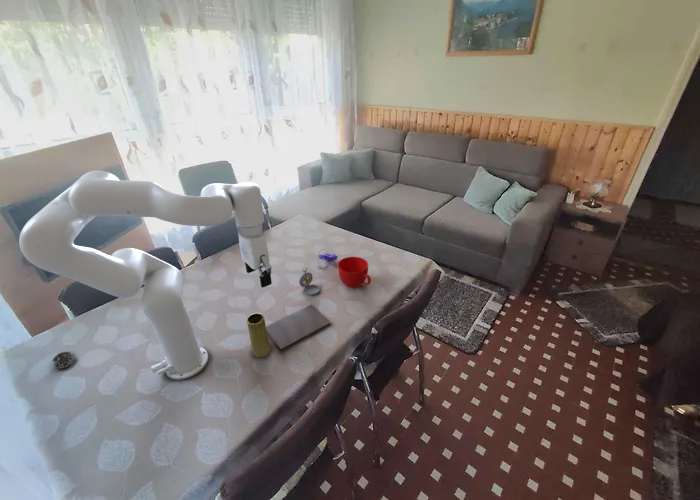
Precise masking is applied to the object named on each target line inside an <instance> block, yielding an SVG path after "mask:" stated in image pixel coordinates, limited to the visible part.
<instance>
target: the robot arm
mask: <svg viewBox="0 0 700 500" xmlns="http://www.w3.org/2000/svg"><path fill="white" fill-rule="evenodd" d="M261 193H262V192H261V188H260V185H258V184H256V183H254V182H248V181H247V182H245V181H244V182H240V183H209V184H207V185H205V186H204V187H202V189H201V191H200V195H185V194H179V193H174V192H171V191H169V190H167V189H165V188H164V187H162V186H161V185H160V184H159V183H156V182H154V181H150V180H126V179H119V178H118V177H117V176H116V175H115V174H113V173H111V172H108V171H105V170H99V169H98V170H90V171H88V172H86V173H84V174H83V175H81V176H80V177H79V178H78V179H77V180H76V181H74V182H73V184H72V185H70V186H69V187H68V188H67V189H65V190H64V191H63V192H61V193H60V194H58V196H56V197H55V198H53V199H52V200H51V201H50V202H49V203H48V204H46V205H45V206H43V208H41V210H39V211H38V212H37V213H35V214H34V215H33V216H32V217H31V218H29V220H28V221H26V223H25V225H24V226H23V227H22V229H21V231H20V234H19V237H18V240H19V241H18V244H19V248H20V252H21V253H22V255H23V256H24V258H25V259H26V260H27V261H28V262H29V263H31V264H32V265H34V266H35V267H36V268H39V269H40V270H42V271H45V272H49V273H51V274H54V275H58V276H61V277H64V278H68V279H69V280H73V281H75V282H78V283H80V284H82V285H85V286H86V287H87V286H88V287H90V288H92V289H95V290H97V291H100V292H103V293H105V294H108V295H110V296H113V297H116V298H120V299H129V298H132V297H134V296H136V295H137V294H138V293H139V292H140V290H141V288H142V287H143V286H145V287H144V290H143V294H142V297H141V307H142V312H143V314H144V315H145V316H146V318H147V319H148V321H149V322H150V324H151V326H152V328H153V331H154V333H155V335H156V337H157V340H158V342H159V345H160V347H161V349H162V352H163V354H164V356H163V357H164V360H161V362H158V363H156V364H153V365H152V366H150V368H151V371H152V373H156V372H157V374H158V376H161V375H162V374H164V373H165V374H166V376H167V377H168V378H170V379H172V380H178V381H179V380H185V379H188V378H192V377H193V376H195V375H197V374H198V373H200V372H201V371H202V370H203V369H204V368H205V367H206V365H207V364H208V361H209V354H208V352H207V349H205V348H204V347H202V346H200V344H199V341H198V339H197V334H196V332H195V329H194V327H193V326H194V325H193V323H192V320H191V317H190V314H189V312H188V309H187V308H186V306H185V304H184V300H183V293H184V283H185V282H184V280H185V279H184V275H183V273H182V272H181V270H179V269H178V268H177V267H175V266H173V264H170V263H168V262H166V261H164V260H162V259H160V258H158V257H156V256H153V255H152V254H150V253H147V252H146V251H143V250H141V249H138V248H133V247H132V248H131V247H127V248H126V247H124V248H121V249H117V250H115V251H114V252H113V253H112V254H111V255H109V254H106V253H104V252H102V251H101V250H98V249H95V248H93V247H88V246H83V245H76V244H75V243H74V242H75V239H76V238H77V237H78V236H79V235H80V233H81V232H82V230H83V229H84V228H85V227H86V225H88V224H89V223H91V221H92V220H93V219H95V218H96V217H106V218H107V217H118V218H119V217H122V218H123V217H124V218H125V217H127V218H129V217H131V218H135V217H136V218H155V219H158V220H160V221H165V222H168V223H172V224H176V225H179V226H188V227H213V226H220V225H223V224H225V223H227V222H228V221H229V220H230V219H231V217H232V215H233V214H234V221H235V225H236V230H237V231H236V232H237V235H238V244H239V252H240V253H239V254H240V258H241V259H242V260H243V262H244V265H245V271H246V273H247V274H250V273H254V272H256V271H257V270H258V273H259V281H260V287H261V288H267V287H268V286H271V285H272V283H273V281H272V276H271V274H272V264H270V255H269V249H268V244H267V239H266V236H265V234H266V222H265V215H264V208H263V201H262V194H261ZM263 268H264V270H263Z"/></svg>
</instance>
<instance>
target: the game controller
mask: <svg viewBox="0 0 700 500" xmlns="http://www.w3.org/2000/svg"><path fill="white" fill-rule="evenodd" d="M322 250H323V251H326V249H324V248H322V249H321V251H322ZM317 259H319V260H322V261H326V262H328V263H329V264H331V265H333V266H334V264H333V263H335V262H336V261H337V259H338V255H336V253H328V252H327V251H326V252H323V253H321V254H318V258H317ZM331 262H333V263H331ZM317 263H318V267H319V268H321V267H320V266H321V265H320V264H319V262H317ZM336 265H337V266H336V267H337V268H338V263H336ZM328 267H329V266H328V265H326V266H325V267H324V269H327V268H328Z"/></svg>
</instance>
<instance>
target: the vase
mask: <svg viewBox="0 0 700 500" xmlns="http://www.w3.org/2000/svg"><path fill="white" fill-rule="evenodd" d="M265 320H266V319H265V316H264V314H263V313H261V312H254V313H251V314H250V315H248V316H247V318H246V324H247V329H248V334H249V340H250V345H251V347H250V348H251V353H252V355H253V356H254V357H256V358H264V357H266V356H268V355H269V353H270V352H271V350H272V348H271V344H270V339H269V335H268V334H267V331H266V327H267V325H266V321H265Z"/></svg>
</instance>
